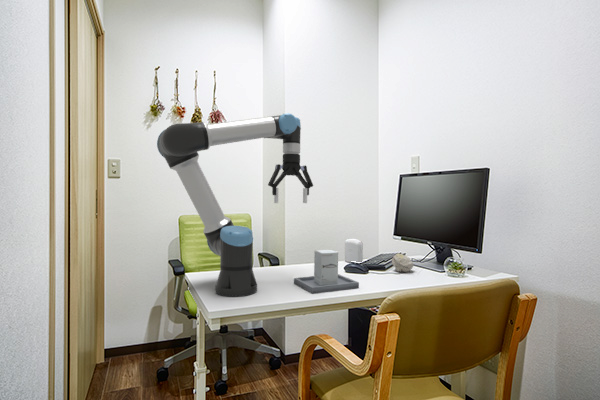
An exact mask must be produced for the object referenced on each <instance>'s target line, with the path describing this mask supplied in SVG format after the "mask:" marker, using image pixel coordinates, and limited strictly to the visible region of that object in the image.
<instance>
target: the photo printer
mask: <svg viewBox="0 0 600 400" xmlns="http://www.w3.org/2000/svg"><path fill="white" fill-rule="evenodd" d="M363 245H364V244H363V242H362V241H361V240H360V239H357V238H348V239H346V240H345V241H344V262H347V263H351V261H356V262H362V261H363V262H364V257H363V256H364V255H363V254H364V253H363V252H364V251H363V248H364V246H363Z"/></svg>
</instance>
